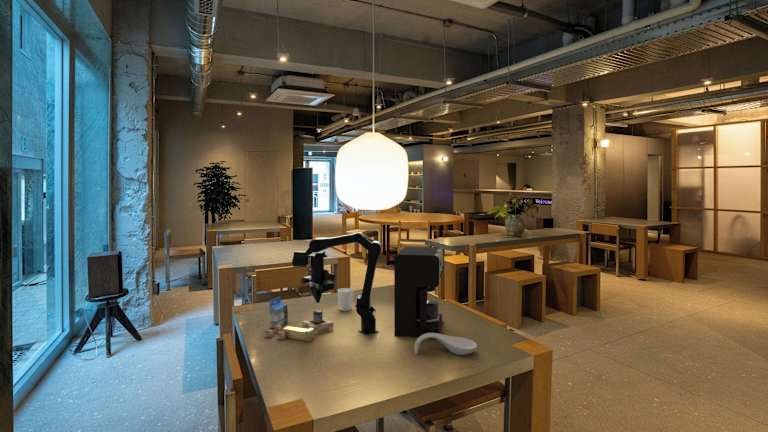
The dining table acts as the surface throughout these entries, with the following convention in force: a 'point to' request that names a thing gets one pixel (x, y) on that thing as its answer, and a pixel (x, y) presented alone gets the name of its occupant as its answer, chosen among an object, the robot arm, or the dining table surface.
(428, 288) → the coffee maker
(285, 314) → the label tape box
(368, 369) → the dining table surface
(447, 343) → the spoon rest
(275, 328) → the pin guide
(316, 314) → the black cylinder
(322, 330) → the dock block
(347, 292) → the white cup
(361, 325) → the robot arm
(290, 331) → the tan rectangular block
